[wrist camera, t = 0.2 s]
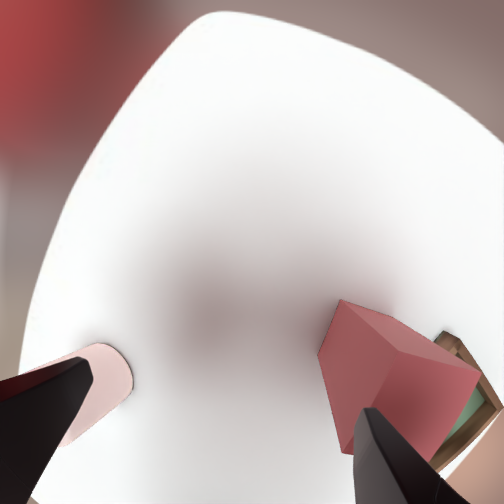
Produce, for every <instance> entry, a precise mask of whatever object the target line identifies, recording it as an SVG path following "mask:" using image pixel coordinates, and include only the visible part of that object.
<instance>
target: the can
mask: <svg viewBox="0 0 504 504" xmlns="http://www.w3.org/2000/svg"><path fill="white" fill-rule="evenodd" d="M77 356H79V357H82V358H85V359H87V360H88V361H89V364H90V367H91V371H92V374H93V378H94V379H93V384H92V386H91V388H90V390H89V392H88V394H87V396H86V398H85V400H84V402H83V404H82V406H81V408H80V410H79V412H78V414H77V416H76V417H75V419H74V421H73V422H72V424H71V426H70V427H69V429H68V430H67V432H66V434H65V435H64V437H63V439H62V440H61V442H60V444H59V445H58V447H64V446H66V445H68V444H70V443H71V442H73V441H74V440H75V439H77V438H78V437H79V436H80V435H82V434H83V433H84V432H85V431H87V430H88V429H89V428H91V427H92V426H93V425H94V424H96V423H97V422H98V421H99V420H101V419H102V418H103V417H104V416H105V415H107V414H108V413H109V412H110V411H112V410H113V409H114V408H115V407H116V406H118V405H119V404H120V403H121V402H122V401H124V400H125V399H126V398H127V397H128V396H129V395H130V393H131V391H132V386H133V380H132V375H131V371H130V368H129V366H128V364H127V363H126V361H125V360H124V358H123V357H122V356H121V355H120V354H119V353H118V352H117V351H116V350H115V349H114V348H112V347H110V346H108V345H105V344H100V343H96V344H92V345H90V346H87V347H85V348H82V349H80V350H77V351H75V352H73V353H70V354H68V355H66V356H63V357H61V358H58V359H56V360H54V361H51V362H49V363H46V364H44V365H42V366H39V367H37V368H34V369H32V370H30V371H27V372H25V373H28V372H31V371H34V370H37V369H40V368H44V367H47V366H50V365H53V364H56V363H59V362H62V361H65V360H68V359H71V358H73V357H77ZM25 373H23V374H25Z"/></svg>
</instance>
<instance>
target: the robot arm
mask: <svg viewBox="0 0 504 504" xmlns="http://www.w3.org/2000/svg"><path fill="white" fill-rule="evenodd" d="M93 379H94V378H93V374H92V371H91V367H90V364H89V361H88V360H87V359H85V358H82V357H79V356H77V357H73V358H71V359H68V360H65V361H62V362H59V363H56V364H53V365H50V366H47V367H44V368H40V369H37V370H34V371H31V372H28V373H25V374H22V375H18V376H15V377H12V378H9V379H6V380H2V381H0V504H26V503H27V501H28V500H29V498H30V496H31V494H32V491H33V490H34V488H35V486H36V484H37V482H38V480H39V479H40V477H41V475H42V473H43V471H44V470H45V468H46V466H47V464H48V463H49V461H50V459H51V457H52V456H53V454H54V452H55V450H56V449H57V447H58V445H59V444H60V442H61V440H62V439H63V437H64V435H65V434H66V432H67V430H68V429H69V427H70V426H71V424H72V422H73V421H74V419H75V417H76V416H77V414H78V412H79V410H80V408H81V406H82V404H83V402H84V400H85V398H86V396H87V394H88V392H89V390H90V388H91V386H92V384H93ZM353 476H354V487H355V500H356V504H470V503H469V502H468V501H466V500H465V499H464V498H463V497H462V496H460V495H459V494H458V493H457V492H456V491H455V490H454V489H453V488H452V487H451V486H450V485H449V484H448V483H447V482H446V481H445V480H444V479H443V478H442V477H441V478H440V475H439V474H438V473H437V472H436V471H435V470H434V469H433V468H432V467H431V466H430V464H429V463H428V462H427V461H426V460H425V459H424V458H423V457H422V456H421V455H420V454H419V453H418V452H417V451H416V450H415V449H414V448H413V446H412V445H411V444H410V443H409V442H408V441H407V440H406V439H405V438H404V437H403V436H402V435H401V434H400V433H399V432H398V430H397V429H396V428H395V427H394V426H393V425H392V424H391V423H390V422H389V421H388V420H387V419H386V418H385V416H384V415H383V414H382V413H381V412H380V411H379V410H378V409H377V408H375V407H364V408H362V410H361V412H360V414H359V416H358V419H357V421H356V423H355V426H354V457H353Z"/></svg>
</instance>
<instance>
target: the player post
mask: <svg viewBox="0 0 504 504" xmlns="http://www.w3.org/2000/svg"><path fill="white" fill-rule="evenodd" d="M317 356H318V359H319V363H320V367H321V371H322V375H323V378H324V382H325V386H326V390H327V394H328V398H329V402H330V406H331V410H332V414H333V418H334V422H335V427H336V431H337V435H338V439H339V443H340V448H341V452H342V453H344V454H350V455H354V426H355V423H356V421H357V419H358V416H359V414H360V412H361V410H362V408H364V407H375V408H377V409H378V410H379V411H380V412H381V413H382V414H383V415H384V416H385V418H386V419H387V420H388V421H389V422H390V423H391V424H392V425H393V426H394V427H395V428H396V429H397V430H398V432H399V433H400V434H401V435H402V436H403V437H404V438H405V439H406V440H407V441H408V442H409V443H410V444H411V445H412V446H413V448H414V449H415V450H416V451H417V452H418V453H419V454H420V455H421V456H422V457H423V458H424V459H425V460H426V461H427V462H429V461H430V460H431V458H432V457H433V456H434V454H435V453H436V451H437V450H438V449H439V447H440V446H441V444H442V443H443V441H444V440H445V438H446V437H447V435H448V434H449V432H450V431H451V429H452V427H453V426H454V424H455V423H456V421H457V419H458V418H459V416H460V414H461V412H462V411H463V409H464V407H465V405H466V404H467V402H468V400H469V398H470V396H471V394H472V392H473V390H474V388H475V386H476V384H477V382H478V380H479V378H480V376H481V374H482V373H481V372H480V371H478V370H477V369H475V368H474V367H472V366H470V365H469V364H467V363H466V362H464V361H463V360H461V359H459V358H458V357H456V356H455V355H453V354H451V353H450V352H448V351H447V350H445V349H443V348H442V347H440V346H439V345H437V344H435V343H434V342H432V341H431V340H429V339H427V338H426V337H424V336H422V335H421V334H419V333H418V332H416V331H414V330H413V329H411V328H409V327H408V326H406V325H405V324H403V323H401V322H400V321H398V320H396V319H395V318H393V317H390V316H387V315H384V314H381V313H378V312H375V311H373V310H370V309H367V308H364V307H361V306H358V305H355V304H352V303H349V302H346V301H343V300H341V299H340V302H339V304H338V307H337V309H336V312H335V315H334V317H333V320H332V322H331V325H330V327H329V329H328V332H327V334H326V337H325V339H324V341H323V344H322V346H321V348H320V351H319V353H318V355H317Z"/></svg>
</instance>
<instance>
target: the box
mask: <svg viewBox="0 0 504 504" xmlns="http://www.w3.org/2000/svg"><path fill="white" fill-rule="evenodd" d="M434 343H435V344H437V345H439V346H440V347H442V348H443V349H445V350H447V351H448V352H450V353H451V354H453V355H455V356H456V357H458V358H459V359H461V360H463V361H464V362H466V363H467V364H469V365H470V366H472V367H474V368H475V369H477V370H478V371H480V372H481V373H482V374H481V376H480V378H479V380H478V382H477V384H476V386H475V388H474V390H473V392H472V394H471V396H470V398H469V400H468V402H467V404H466V405H465V407H464V409H463V411H462V412H461V414H460V416H459V418H458V419H457V421H456V423H455V424H454V426H453V427H452V429H451V431H450V432H449V434H448V435H447V437H446V438H445V440H444V441H443V443H442V444H441V446H440V447H439V449H438V450H437V451H436V453H435V454H434V456H433V457H432V458H431V460H430V461H429V462H428V463H429V464H430V466H431V467H432V468H433V469H434V470H435V471H436V472H437V473H439V472H440V471H441V470H442V469H443V468H445V467H446V466H447V465H448V464H449V463H450V462H451V461H453V460H454V459H455V458H456V457H457V456H458V455H459V454H460V453H461V452H462V451H464V450H465V449H466V448H467V447H468V446H469V445H470V444H471V443H472V442H473V441H474V440H475V439H476V438H477V437H478V436H479V435H480V434H481V433H482V431H483V430H484V429H485V428H486V427H487V426H488V425H489V424H490V423H491V422H492V420H493V419H494V418H495V417H496V416H497V415H498V414H499V412H500V411H501V410H502V409H503V408H504V407H503V405H502V403H501V401H500V400H499V398H498V396H497V395H496V393H495V391H494V390H493V388H492V386H491V385H490V383H489V381H488V380H487V378H486V377H485V375H484V374H483V372H482V370H481V369H480V367H479V366H478V364H477V363H476V361H475V360H474V358H473V357H472V355H471V354H470V353H469V351H468V350H467V348H466V347H465V345H464V344H463V343H462V341H461V340H460V339H459V338H457V337H455V336H453V335H451V334H449V333H447V332H445V331H443V332H442V333H441V334H440V335H439V336H438V338H437V339H436V340H435V341H434Z"/></svg>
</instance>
